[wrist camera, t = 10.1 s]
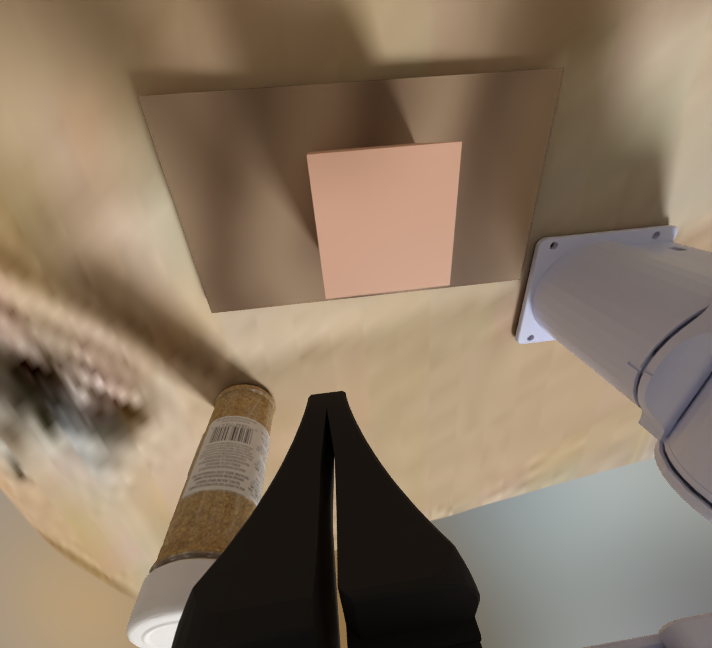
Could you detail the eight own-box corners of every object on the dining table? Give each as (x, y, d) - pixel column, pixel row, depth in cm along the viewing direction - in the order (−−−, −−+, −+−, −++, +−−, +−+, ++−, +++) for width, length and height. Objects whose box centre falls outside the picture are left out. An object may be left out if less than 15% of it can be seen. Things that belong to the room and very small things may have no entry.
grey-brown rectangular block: (553, 71, 16) (663, 35, 11) (513, 275, 21) (573, 314, 16) (145, 98, 15) (56, 73, 10) (215, 307, 20) (181, 360, 15)
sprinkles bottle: (209, 416, 25) (113, 658, 13) (226, 373, 23) (131, 611, 11) (266, 430, 26) (225, 659, 14) (285, 391, 24) (257, 618, 13)
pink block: (414, 143, 16) (461, 141, 11) (412, 246, 19) (449, 285, 14) (309, 152, 16) (306, 154, 10) (323, 256, 18) (325, 299, 13)
